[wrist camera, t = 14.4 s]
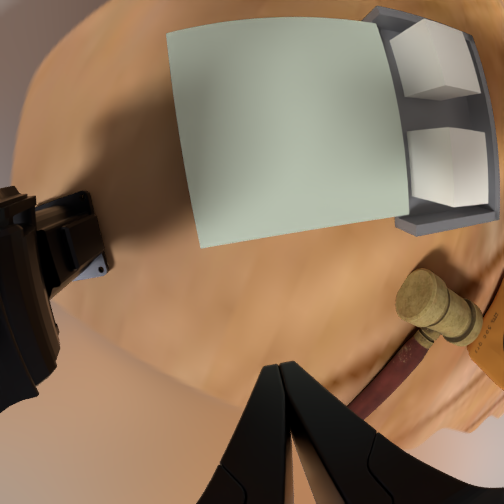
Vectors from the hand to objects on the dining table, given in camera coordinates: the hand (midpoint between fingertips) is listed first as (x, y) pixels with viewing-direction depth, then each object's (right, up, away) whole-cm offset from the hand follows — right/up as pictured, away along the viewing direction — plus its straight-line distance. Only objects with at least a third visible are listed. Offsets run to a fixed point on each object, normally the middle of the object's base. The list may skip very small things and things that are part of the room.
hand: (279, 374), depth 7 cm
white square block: (+11, +9, +8) cm, 17 cm away
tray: (+14, +14, +10) cm, 23 cm away
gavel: (+13, -8, +18) cm, 23 cm away
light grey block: (+10, +17, +6) cm, 20 cm away
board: (+2, +12, +10) cm, 16 cm away
